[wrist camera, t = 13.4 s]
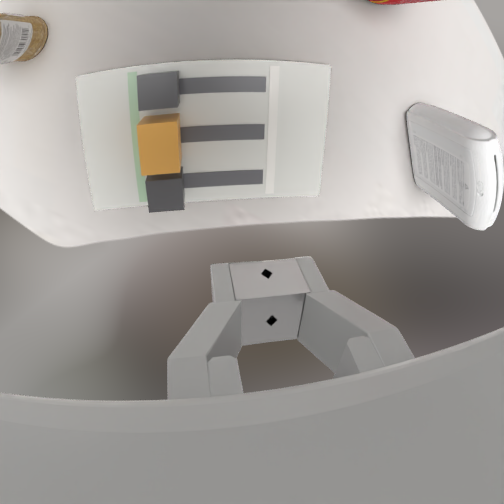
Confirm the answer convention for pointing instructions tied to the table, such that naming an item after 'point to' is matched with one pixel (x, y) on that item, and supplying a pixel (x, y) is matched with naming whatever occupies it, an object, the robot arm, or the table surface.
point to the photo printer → (457, 163)
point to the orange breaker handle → (159, 144)
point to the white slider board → (206, 130)
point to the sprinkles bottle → (21, 37)
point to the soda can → (398, 1)
